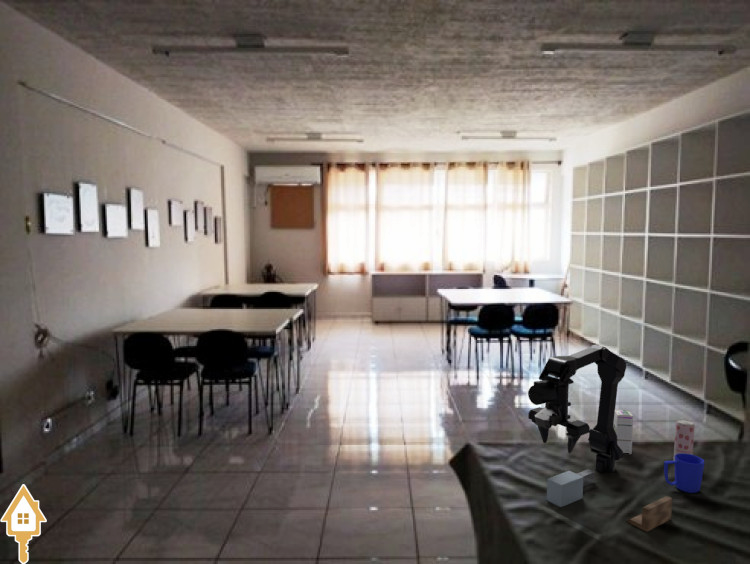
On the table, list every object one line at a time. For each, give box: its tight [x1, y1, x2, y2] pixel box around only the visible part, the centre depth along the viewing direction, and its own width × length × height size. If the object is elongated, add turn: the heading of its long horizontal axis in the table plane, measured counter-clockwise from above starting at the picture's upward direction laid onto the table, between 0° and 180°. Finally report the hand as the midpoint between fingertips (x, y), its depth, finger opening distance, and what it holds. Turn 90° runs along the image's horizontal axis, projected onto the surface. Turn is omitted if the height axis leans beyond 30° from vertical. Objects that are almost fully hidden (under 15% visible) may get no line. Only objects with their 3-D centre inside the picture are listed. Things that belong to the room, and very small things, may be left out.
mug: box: [663, 453, 705, 494], centre depth 173 cm, size 8×12×10 cm
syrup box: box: [613, 409, 634, 455], centre depth 203 cm, size 6×6×14 cm
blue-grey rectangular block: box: [546, 470, 584, 508], centre depth 163 cm, size 10×5×8 cm, turn 124°
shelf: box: [625, 495, 673, 533], centre depth 163 cm, size 12×28×6 cm, turn 34°
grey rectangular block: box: [576, 468, 596, 488], centre depth 172 cm, size 10×2×4 cm, turn 124°
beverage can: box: [672, 418, 695, 461], centre depth 192 cm, size 6×6×15 cm
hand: (557, 447), depth 171 cm, fingers open, 9 cm apart
